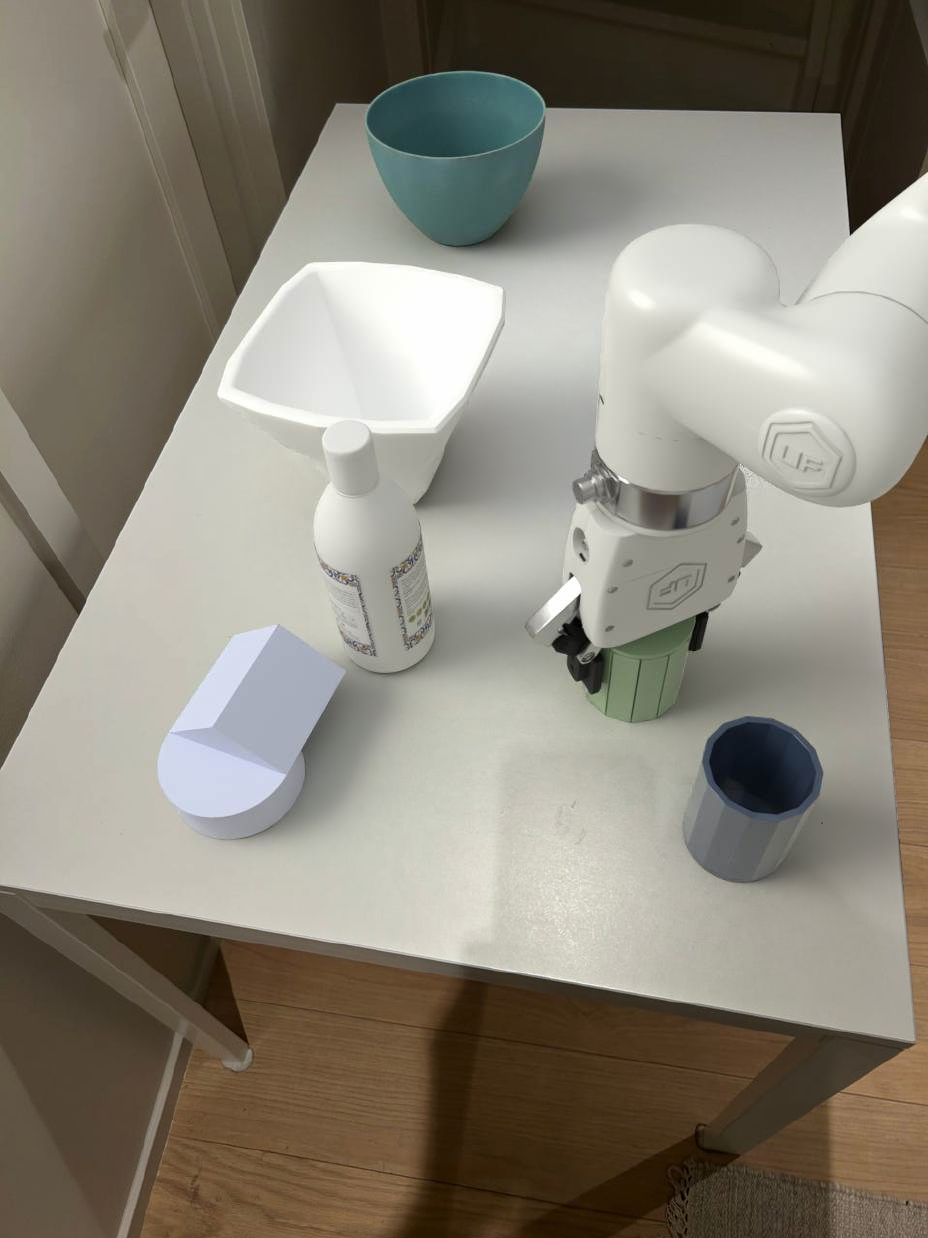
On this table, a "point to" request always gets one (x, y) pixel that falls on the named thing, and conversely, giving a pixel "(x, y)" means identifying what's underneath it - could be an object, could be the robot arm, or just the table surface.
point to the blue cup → (750, 798)
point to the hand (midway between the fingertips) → (635, 655)
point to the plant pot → (457, 150)
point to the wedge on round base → (247, 734)
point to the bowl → (367, 361)
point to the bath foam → (372, 556)
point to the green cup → (644, 674)
